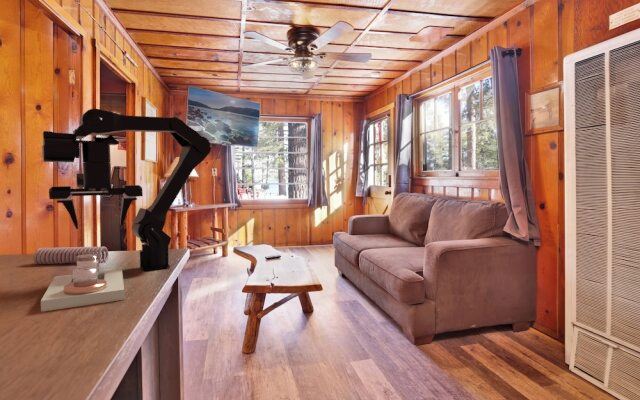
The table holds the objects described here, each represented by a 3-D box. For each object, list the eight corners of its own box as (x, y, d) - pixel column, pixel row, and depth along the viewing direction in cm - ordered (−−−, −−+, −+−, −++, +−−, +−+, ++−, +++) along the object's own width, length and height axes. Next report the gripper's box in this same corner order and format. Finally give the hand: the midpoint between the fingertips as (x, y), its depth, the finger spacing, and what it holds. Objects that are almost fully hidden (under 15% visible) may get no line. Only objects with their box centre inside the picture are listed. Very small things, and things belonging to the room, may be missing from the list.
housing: (122, 277, 85) (121, 269, 85) (124, 299, 69) (124, 289, 69) (55, 285, 78) (54, 276, 78) (41, 311, 63) (40, 300, 63)
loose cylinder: (99, 283, 80) (98, 253, 80) (99, 288, 77) (98, 256, 76) (78, 286, 78) (77, 254, 78) (76, 291, 74) (75, 258, 74)
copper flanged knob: (106, 282, 74) (106, 263, 74) (106, 291, 68) (105, 270, 68) (66, 287, 71) (65, 267, 70) (61, 297, 65) (61, 275, 64)
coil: (30, 250, 96) (102, 249, 98) (41, 245, 100) (109, 244, 103) (32, 267, 96) (103, 265, 99) (43, 261, 101) (110, 259, 104)
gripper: (136, 164, 97) (138, 220, 98) (51, 163, 86) (54, 226, 87) (141, 163, 88) (144, 225, 89) (47, 161, 77) (51, 232, 78)
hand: (99, 227), depth 86 cm, fingers open, 9 cm apart
